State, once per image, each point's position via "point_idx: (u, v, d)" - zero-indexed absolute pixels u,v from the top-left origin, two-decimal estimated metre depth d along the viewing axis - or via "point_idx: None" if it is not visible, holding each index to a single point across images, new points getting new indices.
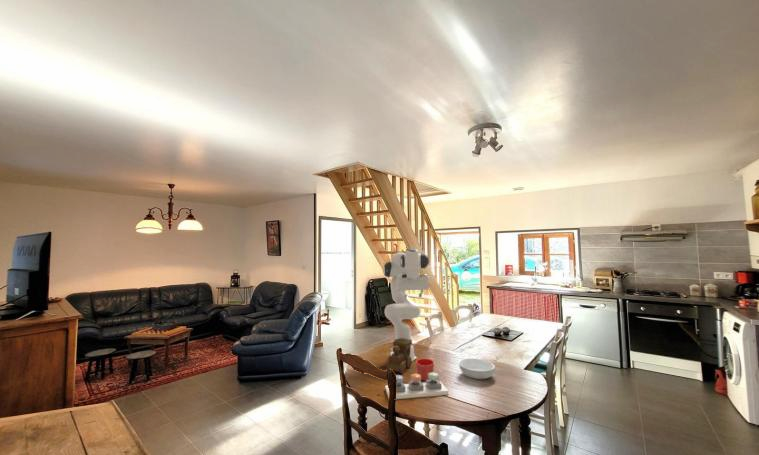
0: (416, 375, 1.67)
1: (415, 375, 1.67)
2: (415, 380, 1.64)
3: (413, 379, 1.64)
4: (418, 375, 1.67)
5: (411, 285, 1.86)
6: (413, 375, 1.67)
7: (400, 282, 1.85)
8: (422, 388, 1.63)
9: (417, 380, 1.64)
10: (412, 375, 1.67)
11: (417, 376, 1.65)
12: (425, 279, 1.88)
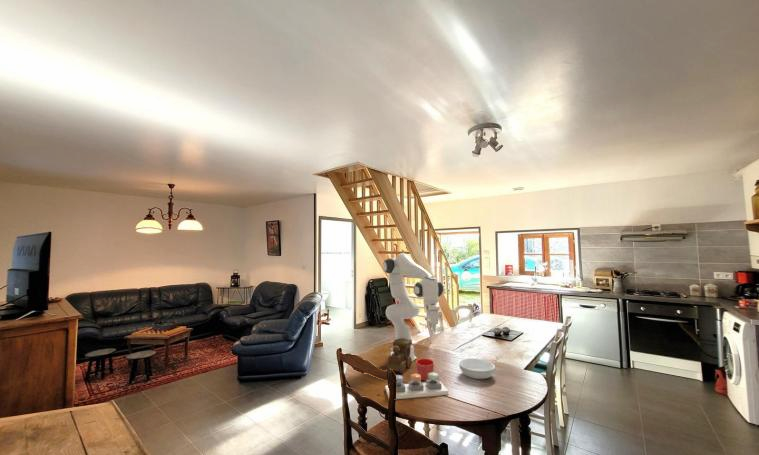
0: (416, 375, 1.67)
1: (415, 375, 1.67)
2: (415, 380, 1.64)
3: (413, 379, 1.64)
4: (418, 375, 1.67)
5: None
6: (413, 375, 1.67)
7: None
8: (422, 388, 1.63)
9: (417, 380, 1.64)
10: (412, 375, 1.67)
11: (417, 376, 1.65)
12: None
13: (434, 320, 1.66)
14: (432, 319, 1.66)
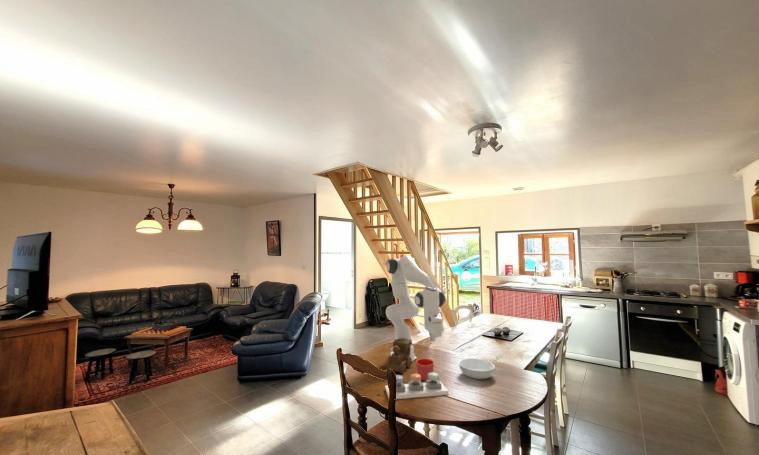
0: (416, 375, 1.67)
1: (415, 375, 1.67)
2: (415, 380, 1.64)
3: (413, 379, 1.64)
4: (418, 375, 1.67)
5: None
6: (413, 375, 1.67)
7: None
8: (422, 388, 1.63)
9: (417, 380, 1.64)
10: (412, 375, 1.67)
11: (417, 376, 1.65)
12: None
13: (438, 332, 1.63)
14: (436, 331, 1.63)
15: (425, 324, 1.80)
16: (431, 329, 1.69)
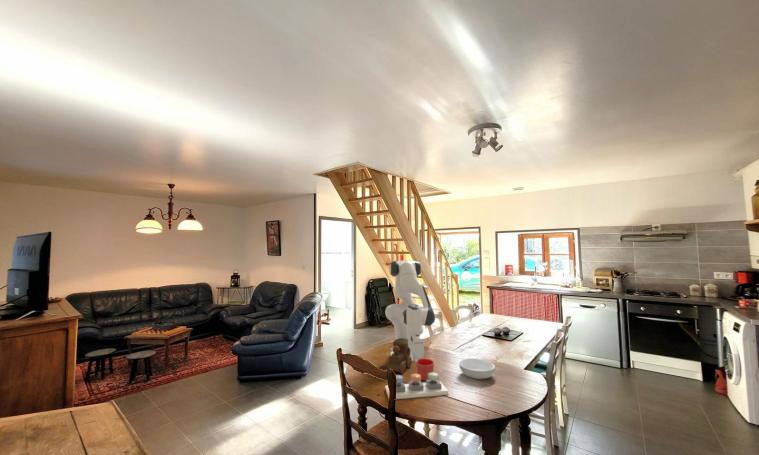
0: (416, 375, 1.67)
1: (415, 375, 1.67)
2: (415, 380, 1.64)
3: (413, 379, 1.64)
4: (418, 375, 1.67)
5: None
6: (413, 375, 1.67)
7: None
8: (422, 388, 1.63)
9: (417, 380, 1.64)
10: (412, 375, 1.67)
11: (417, 376, 1.65)
12: None
13: (419, 353, 1.57)
14: (417, 352, 1.57)
15: (408, 343, 1.74)
16: (413, 349, 1.63)
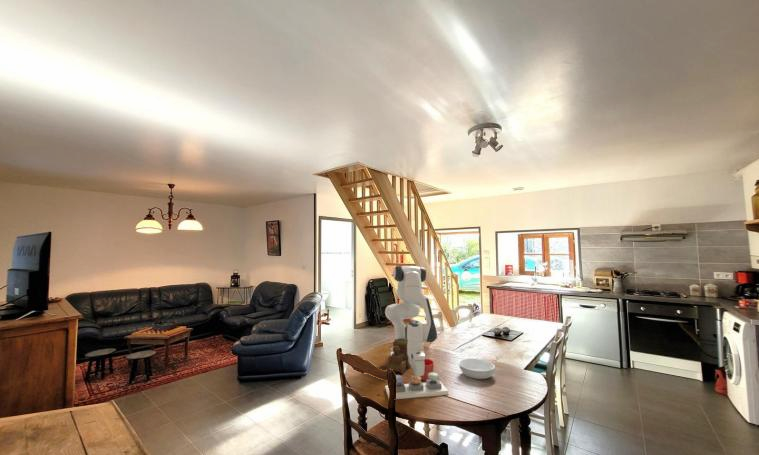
0: None
1: None
2: (415, 382, 1.63)
3: (413, 381, 1.64)
4: (418, 377, 1.67)
5: None
6: (413, 377, 1.67)
7: None
8: (422, 388, 1.63)
9: (417, 382, 1.63)
10: (412, 377, 1.67)
11: None
12: None
13: (420, 371, 1.57)
14: (418, 370, 1.57)
15: (409, 359, 1.73)
16: (414, 366, 1.63)
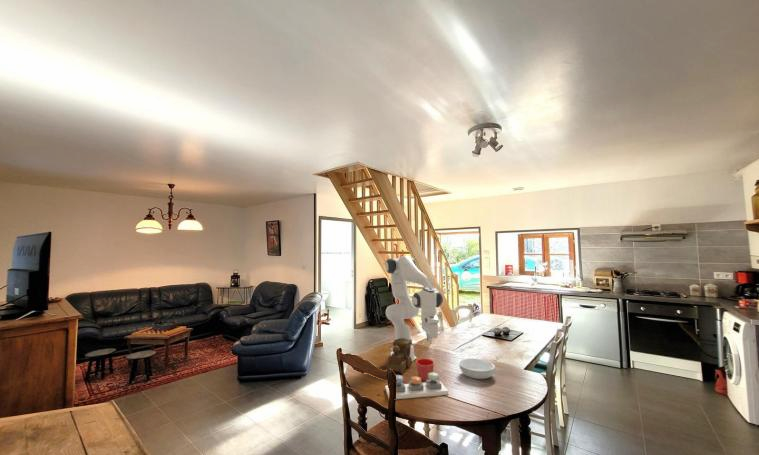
0: (416, 378, 1.67)
1: (415, 378, 1.67)
2: (415, 383, 1.63)
3: (413, 382, 1.64)
4: (418, 378, 1.67)
5: None
6: (413, 378, 1.67)
7: None
8: (422, 388, 1.63)
9: (417, 383, 1.63)
10: (412, 378, 1.67)
11: (417, 379, 1.65)
12: None
13: (433, 334, 1.65)
14: (432, 333, 1.64)
15: (422, 324, 1.81)
16: (427, 330, 1.71)
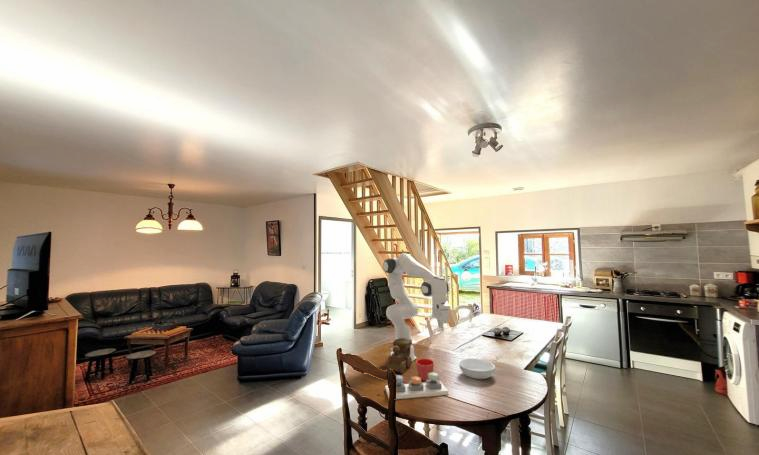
0: (416, 378, 1.67)
1: (415, 378, 1.67)
2: (415, 383, 1.63)
3: (413, 382, 1.64)
4: (418, 378, 1.67)
5: None
6: (413, 378, 1.67)
7: None
8: (422, 388, 1.63)
9: (417, 383, 1.63)
10: (412, 378, 1.67)
11: (417, 379, 1.65)
12: None
13: (445, 319, 1.70)
14: (444, 318, 1.70)
15: (433, 312, 1.87)
16: (439, 316, 1.76)
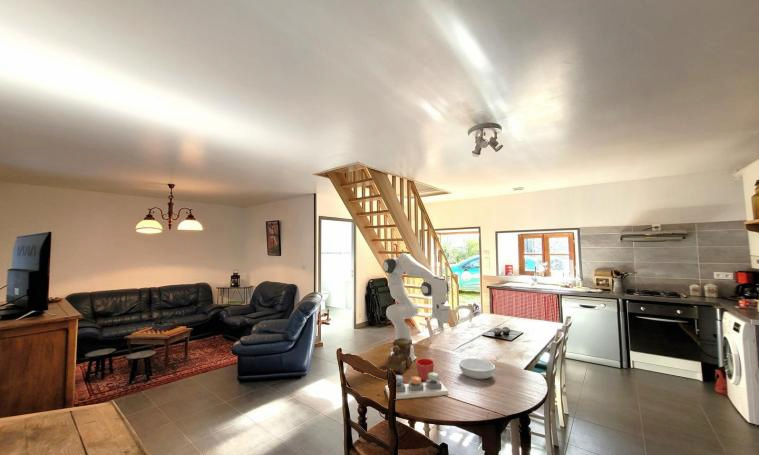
0: (416, 378, 1.67)
1: (415, 378, 1.67)
2: (415, 383, 1.63)
3: (413, 382, 1.64)
4: (418, 378, 1.67)
5: None
6: (413, 378, 1.67)
7: None
8: (422, 388, 1.63)
9: (417, 383, 1.63)
10: (412, 378, 1.67)
11: (417, 379, 1.65)
12: None
13: (445, 319, 1.70)
14: (444, 318, 1.70)
15: (433, 312, 1.87)
16: (439, 316, 1.76)
